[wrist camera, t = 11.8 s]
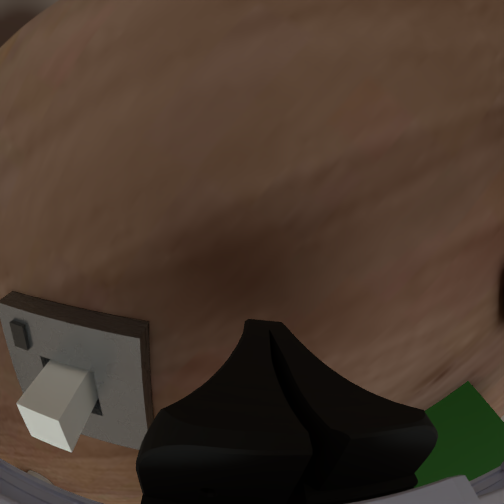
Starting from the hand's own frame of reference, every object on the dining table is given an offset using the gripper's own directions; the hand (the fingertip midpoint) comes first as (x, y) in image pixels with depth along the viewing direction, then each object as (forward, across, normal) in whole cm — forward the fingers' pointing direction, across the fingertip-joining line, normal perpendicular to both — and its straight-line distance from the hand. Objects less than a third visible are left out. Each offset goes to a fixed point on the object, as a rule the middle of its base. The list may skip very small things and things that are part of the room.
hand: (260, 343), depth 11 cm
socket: (+10, +14, +13) cm, 22 cm away
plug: (+10, +14, +13) cm, 22 cm away
